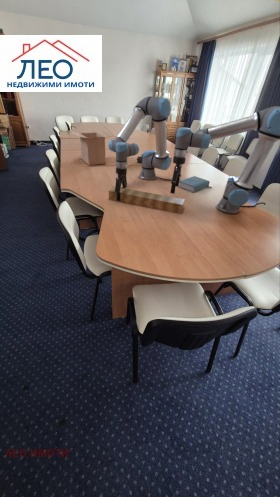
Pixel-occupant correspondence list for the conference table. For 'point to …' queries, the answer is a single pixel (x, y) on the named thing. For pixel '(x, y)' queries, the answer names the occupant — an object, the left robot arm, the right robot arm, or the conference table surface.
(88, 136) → the box
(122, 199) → the wide beam
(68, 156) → the conference table surface
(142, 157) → the laser sight
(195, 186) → the book
